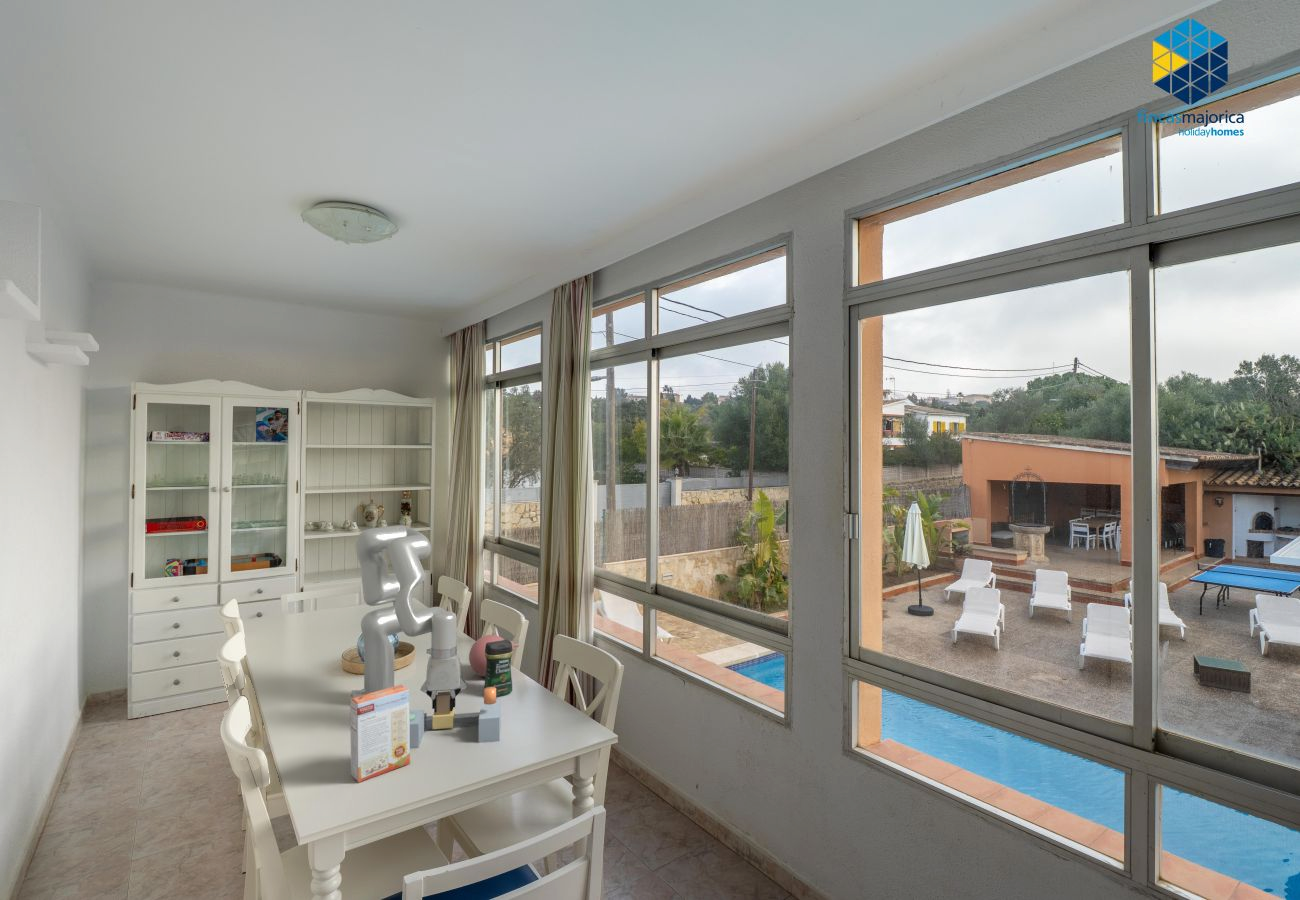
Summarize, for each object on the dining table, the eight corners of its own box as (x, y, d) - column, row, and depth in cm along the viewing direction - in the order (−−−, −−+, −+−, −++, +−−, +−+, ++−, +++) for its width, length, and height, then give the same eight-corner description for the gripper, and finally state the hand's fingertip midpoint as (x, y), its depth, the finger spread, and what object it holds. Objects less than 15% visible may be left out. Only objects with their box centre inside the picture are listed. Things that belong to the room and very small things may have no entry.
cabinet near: (393, 749, 179) (393, 722, 179) (400, 734, 189) (400, 707, 189) (418, 747, 181) (418, 720, 181) (424, 732, 191) (424, 706, 191)
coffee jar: (488, 699, 215) (489, 646, 215) (481, 692, 222) (481, 640, 222) (515, 693, 220) (515, 641, 220) (507, 686, 227) (507, 636, 227)
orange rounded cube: (483, 705, 186) (483, 691, 186) (484, 700, 190) (484, 687, 190) (495, 704, 187) (495, 690, 187) (496, 699, 191) (496, 686, 191)
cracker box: (401, 756, 176) (401, 683, 175) (410, 764, 171) (410, 689, 171) (349, 774, 166) (349, 696, 166) (357, 783, 161) (357, 703, 161)
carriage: (432, 729, 191) (432, 697, 191) (435, 722, 197) (435, 691, 197) (452, 727, 193) (452, 696, 193) (454, 720, 198) (454, 689, 198)
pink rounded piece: (528, 674, 239) (528, 635, 239) (477, 686, 227) (477, 644, 227) (511, 663, 252) (511, 625, 251) (463, 673, 240) (463, 634, 240)
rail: (420, 730, 192) (420, 717, 192) (422, 726, 195) (422, 713, 195) (488, 724, 196) (488, 712, 196) (489, 720, 199) (489, 708, 199)
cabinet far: (478, 742, 184) (478, 719, 184) (481, 727, 194) (481, 705, 194) (499, 740, 185) (499, 717, 185) (500, 726, 195) (500, 703, 195)
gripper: (413, 657, 189) (413, 717, 189) (470, 654, 192) (470, 713, 192) (418, 649, 197) (418, 707, 197) (472, 646, 200) (472, 703, 200)
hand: (443, 709), depth 195 cm, fingers closed on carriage, 4 cm apart
